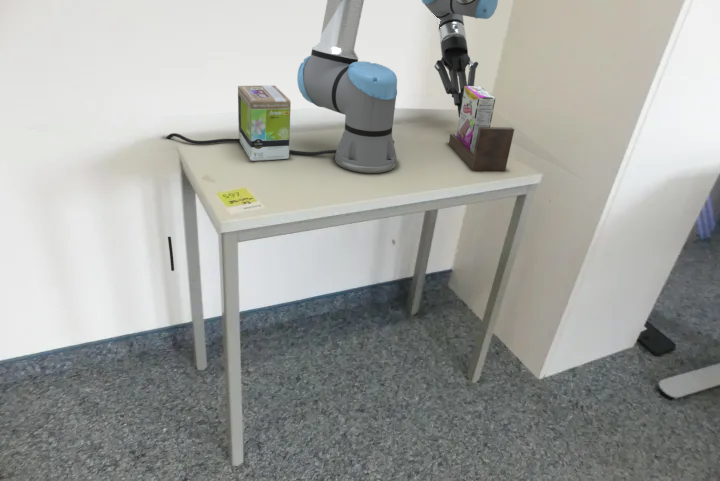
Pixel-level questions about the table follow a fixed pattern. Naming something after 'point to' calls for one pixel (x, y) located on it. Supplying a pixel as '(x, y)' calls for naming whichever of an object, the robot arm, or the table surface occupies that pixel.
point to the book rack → (486, 149)
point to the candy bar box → (474, 114)
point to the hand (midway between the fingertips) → (463, 115)
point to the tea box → (264, 122)
